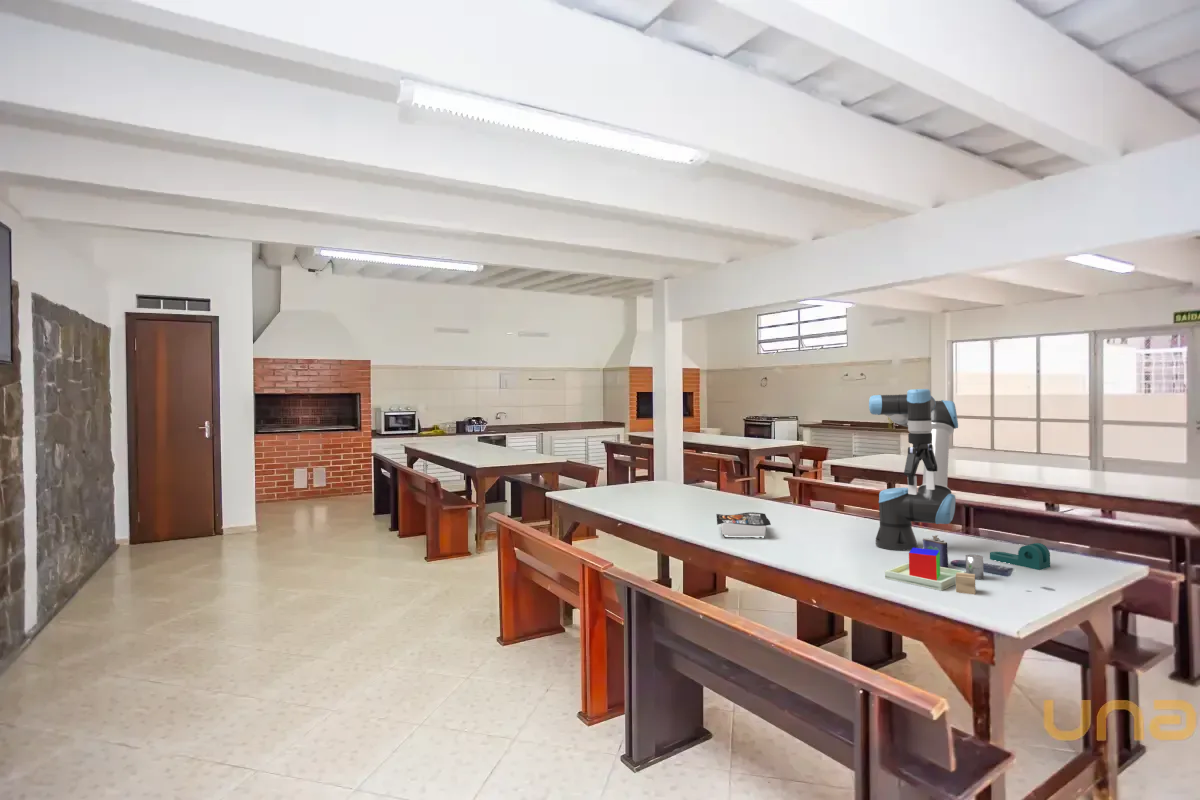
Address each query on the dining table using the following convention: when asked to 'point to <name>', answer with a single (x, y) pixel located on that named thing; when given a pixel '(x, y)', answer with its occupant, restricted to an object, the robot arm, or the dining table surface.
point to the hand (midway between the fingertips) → (921, 491)
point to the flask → (937, 545)
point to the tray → (943, 582)
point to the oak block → (965, 583)
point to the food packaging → (743, 524)
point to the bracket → (1026, 557)
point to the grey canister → (975, 566)
